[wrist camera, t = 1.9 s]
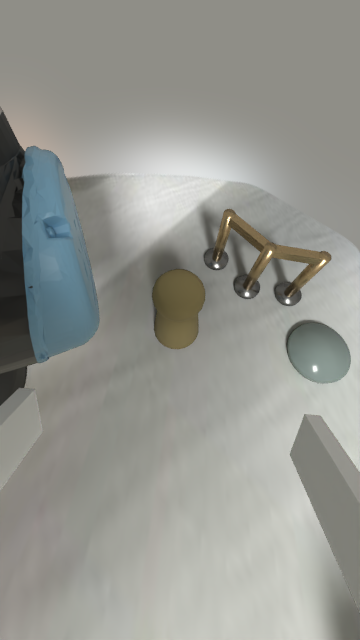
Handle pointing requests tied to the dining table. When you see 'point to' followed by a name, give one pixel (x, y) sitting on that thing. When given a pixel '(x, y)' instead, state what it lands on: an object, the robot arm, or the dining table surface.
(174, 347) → the cork
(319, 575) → the dining table surface
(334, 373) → the coaster
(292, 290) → the rail
